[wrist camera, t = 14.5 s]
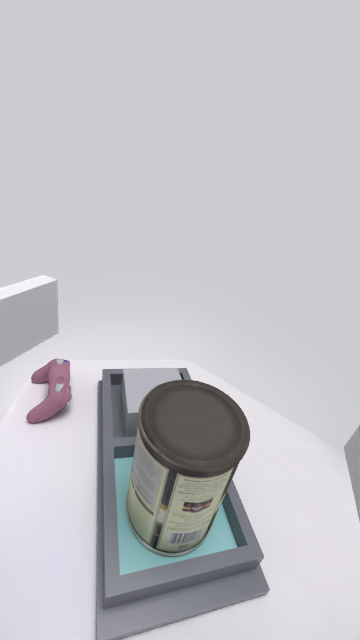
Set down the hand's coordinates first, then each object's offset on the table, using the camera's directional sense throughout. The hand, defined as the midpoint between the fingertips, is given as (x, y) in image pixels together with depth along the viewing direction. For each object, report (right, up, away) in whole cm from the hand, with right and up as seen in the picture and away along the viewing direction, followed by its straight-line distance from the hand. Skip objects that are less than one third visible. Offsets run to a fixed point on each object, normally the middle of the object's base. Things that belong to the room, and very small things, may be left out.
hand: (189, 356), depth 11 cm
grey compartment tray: (-3, -18, +26) cm, 32 cm away
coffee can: (-2, -20, +21) cm, 29 cm away
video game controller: (-21, -11, +32) cm, 40 cm away
